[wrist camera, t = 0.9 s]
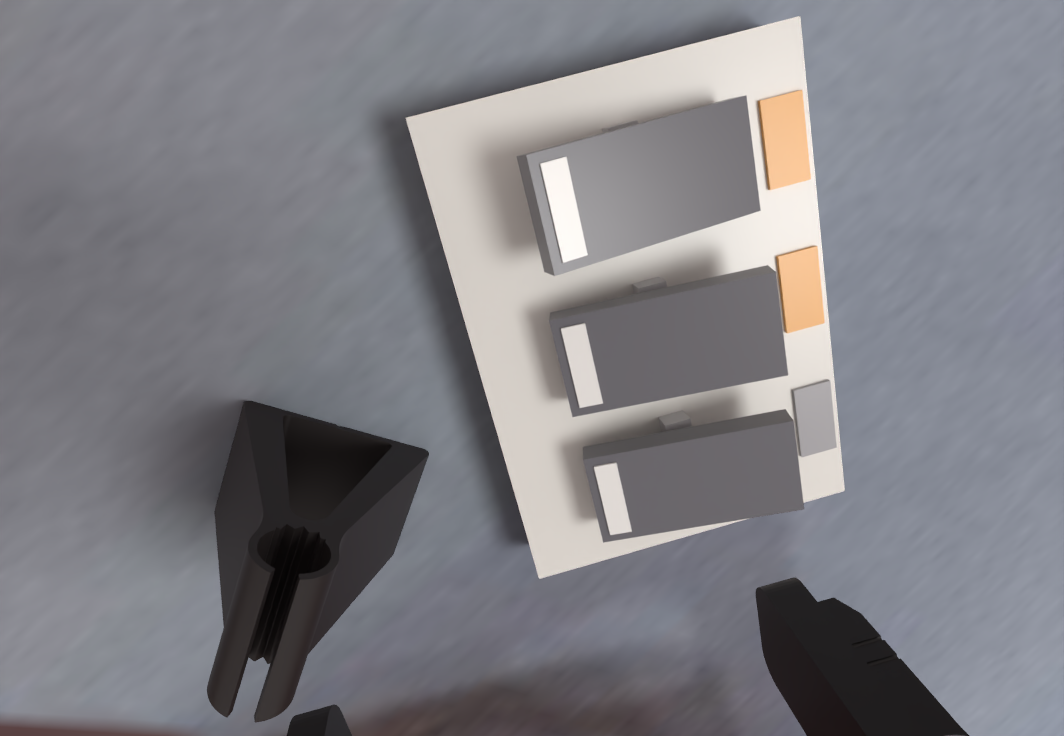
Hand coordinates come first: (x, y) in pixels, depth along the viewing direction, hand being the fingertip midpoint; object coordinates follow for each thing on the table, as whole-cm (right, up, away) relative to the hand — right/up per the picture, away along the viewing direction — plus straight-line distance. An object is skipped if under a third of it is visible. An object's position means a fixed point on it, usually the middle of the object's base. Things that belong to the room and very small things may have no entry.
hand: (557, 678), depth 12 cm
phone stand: (-11, 0, +21) cm, 24 cm away
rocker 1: (+4, +13, +14) cm, 19 cm away
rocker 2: (+5, +7, +16) cm, 18 cm away
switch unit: (+5, +8, +20) cm, 22 cm away
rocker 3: (+7, +1, +18) cm, 19 cm away
